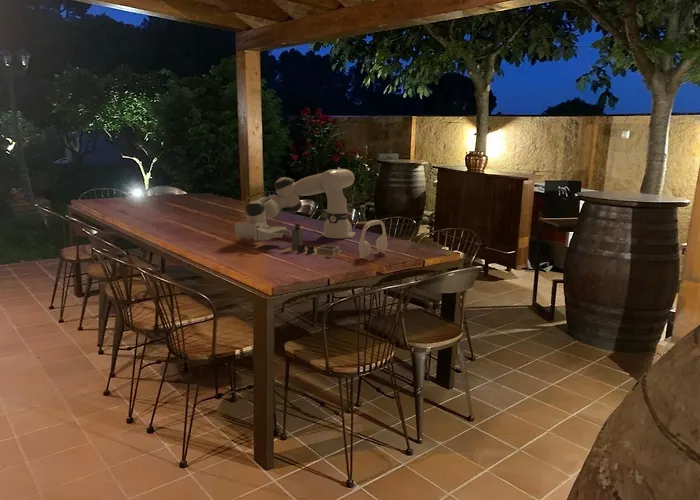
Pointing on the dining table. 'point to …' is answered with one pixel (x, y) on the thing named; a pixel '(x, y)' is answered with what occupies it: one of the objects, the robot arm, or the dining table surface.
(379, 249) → the headset
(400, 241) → the dining table surface
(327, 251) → the cable board
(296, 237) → the grey square bottle
